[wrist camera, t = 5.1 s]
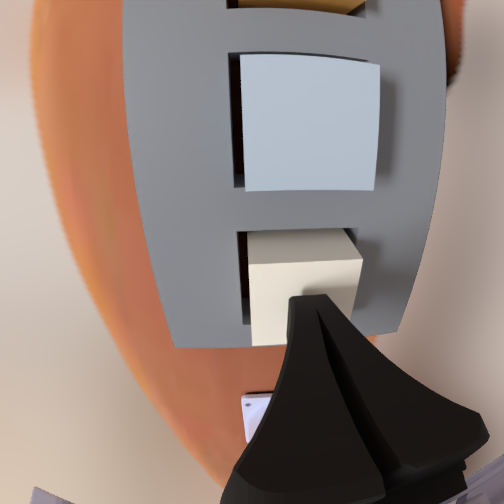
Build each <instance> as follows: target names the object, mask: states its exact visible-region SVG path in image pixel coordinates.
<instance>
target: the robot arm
mask: <svg viewBox="0 0 504 504" xmlns="http://www.w3.org/2000/svg"><path fill="white" fill-rule="evenodd" d="M286 337H287V348H286V353H285V357H284V361H283V365H282V368H281V371H280V375H279V378H278V381H277V383H276V386H275V389H274V391H273V393H269V394H248V395H244V396H242V398H241V403H242V411H243V418H244V426H245V434H246V441H247V443H249V444H248V445H247V447H246V449H245V450H244V452H243V453H242V455H241V457H240V458H239V460H238V461H237V463H236V464H235V466H234V468H233V471H232V473H231V476H230V478H229V480H228V482H227V485H226V487H225V489H224V492H223V494H222V497H221V500H220V504H448V503H450V502H452V501H454V500H456V499H457V501H456V504H504V454H503V455H502V456H500V457H499V458H497V459H496V460H494V461H493V462H491V463H489V464H488V465H486V466H485V467H483V468H481V469H480V470H478V471H476V472H475V473H473V474H471V475H470V476H468V477H466V478H464V475H463V472H462V471H464V470H465V469H466V464H465V461H464V460H465V459H466V458H468V457H469V456H470V455H472V454H473V453H474V452H476V451H477V450H478V449H479V448H481V447H482V446H483V445H484V444H485V443H486V442H487V441H488V439H489V436H490V435H489V433H488V431H487V428H486V427H485V424H484V422H483V420H482V417H481V416H480V414H479V413H477V412H475V411H473V410H470V409H468V408H466V407H463V406H461V405H459V404H457V403H454V402H452V401H450V400H449V399H447V398H445V397H443V396H441V395H439V394H437V393H435V392H434V391H432V390H430V389H429V388H427V387H426V386H424V385H423V384H421V383H420V382H418V381H417V380H415V379H414V378H412V377H411V376H409V375H408V374H407V373H405V372H404V371H402V370H401V369H400V368H399V367H397V366H396V365H395V364H394V363H393V362H391V361H390V360H389V359H387V358H386V357H385V356H384V355H383V354H382V353H381V352H380V351H379V350H378V349H377V348H376V347H375V346H374V345H372V344H371V343H370V342H369V341H368V340H367V339H366V338H365V337H364V336H363V334H362V333H361V332H360V331H359V330H358V329H357V328H356V327H355V326H354V325H353V324H352V323H351V322H350V321H349V319H348V318H347V317H346V316H345V315H344V314H343V313H342V311H341V310H340V309H339V308H338V307H337V306H336V304H335V303H334V302H333V301H332V300H331V299H330V297H329V296H328V295H327V294H317V295H302V296H292V297H290V298H289V301H288V318H287V332H286ZM30 504H74V503H71V502H69V501H67V500H64V499H62V498H60V497H58V496H55V495H53V494H50V493H49V492H46V491H44V490H42V489H40V488H38V487H34V488H33V492H32V496H31V501H30Z"/></svg>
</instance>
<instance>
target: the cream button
mask: <svg viewBox="0 0 504 504" xmlns="http://www.w3.org/2000/svg"><path fill="white" fill-rule="evenodd" d="M247 239H248V265H249V288H250V310H251V331H252V346H261V345H278V344H287V337H286V332H287V318H288V301H289V298H290V297H292V296H302V295H317V294H327V295H328V296H329V297H330V299H331V300H332V301H333V302H334V303H335V304H336V306H337V307H338V308H339V309H340V310H341V311H342V313H343V314H344V315H345V316H346V317H347V318H348V319H349V321H350V318H351V314H352V309H353V305H354V301H355V296H356V292H357V287H358V283H359V278H360V273H361V268H362V262H363V258H362V256H361V255H360V253H359V252H358V250H357V249H356V247H355V246H354V244H353V243H352V241H351V240H350V238H349V237H348V236H347V234H346V233H345V231H344V230H343V228H329V229H296V230H268V231H247Z"/></svg>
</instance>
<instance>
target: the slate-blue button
mask: <svg viewBox="0 0 504 504" xmlns="http://www.w3.org/2000/svg"><path fill="white" fill-rule="evenodd" d="M240 66H241V93H242V120H243V145H244V170H245V192H246V191H276V190H370V191H374V182H375V172H376V161H377V148H378V133H379V110H380V65H377V64H371V63H365V62H359V61H352V60H345V59H337V58H328V57H317V56H303V55H279V54H252V55H240Z"/></svg>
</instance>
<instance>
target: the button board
mask: <svg viewBox="0 0 504 504" xmlns="http://www.w3.org/2000/svg"><path fill="white" fill-rule="evenodd" d="M122 46H123V76H124V93H125V106H126V117H127V127H128V136H129V144H130V152H131V159H132V166H133V173H134V179H135V186H136V192H137V197H138V203H139V208H140V214H141V219H142V224H143V229H144V234H145V238H146V243H147V248H148V252H149V256H150V261H151V265H152V269H153V273H154V277H155V281H156V285H157V289H158V293H159V296H160V300H161V304H162V307H163V311H164V314H165V318H166V321H167V325H168V328H169V331H170V334H171V338H172V341H173V344H174V347H175V348H237V347H261V346H279V345H287V344H278V345H261V346H252V331H251V310H250V298H242V284H241V268H240V251H239V234H238V231H260V230H287V229H319V228H343V230H344V231H345V233H346V234H347V236H348V237H349V238H350V240H351V241H352V243H353V244H354V246H355V247H356V249H357V250H358V252H359V253H360V255H361V256H362V258H363V262H362V268H361V273H360V278H359V283H358V287H357V292H356V296H355V301H354V305H353V309H352V314H351V318H350V322H351V323H352V324H353V325H354V326H355V327H356V328H357V329H358V330H359V331H360V332H361V333H362V334H363V336H364V337H367V336H374V335H380V334H387V333H393V332H397V329H398V327H399V324H400V322H401V319H402V316H403V314H404V311H405V308H406V305H407V302H408V299H409V297H410V293H411V291H412V288H413V284H414V281H415V278H416V275H417V272H418V268H419V265H420V261H421V258H422V254H423V250H424V246H425V243H426V239H427V235H428V230H429V226H430V222H431V217H432V212H433V208H434V202H435V197H436V192H437V186H438V180H439V173H440V166H441V159H442V150H443V141H444V128H445V113H446V54H445V39H444V28H443V19H442V12H441V5H440V0H366V1H364V2H363V3H361V4H360V5H359V6H357V7H356V8H354V9H353V10H351V11H350V12H348V13H347V15H342V14H336V13H329V12H321V11H312V10H300V9H284V8H236V9H228V0H123V23H122ZM252 54H279V55H303V56H317V57H328V58H337V59H345V60H352V61H359V62H365V63H371V64H377V65H380V110H379V133H378V148H377V161H376V172H375V182H374V191H370V190H276V191H246V192H245V173H243V174H235V160H234V140H233V118H232V95H231V70H230V61H233V60H240V55H252Z"/></svg>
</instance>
